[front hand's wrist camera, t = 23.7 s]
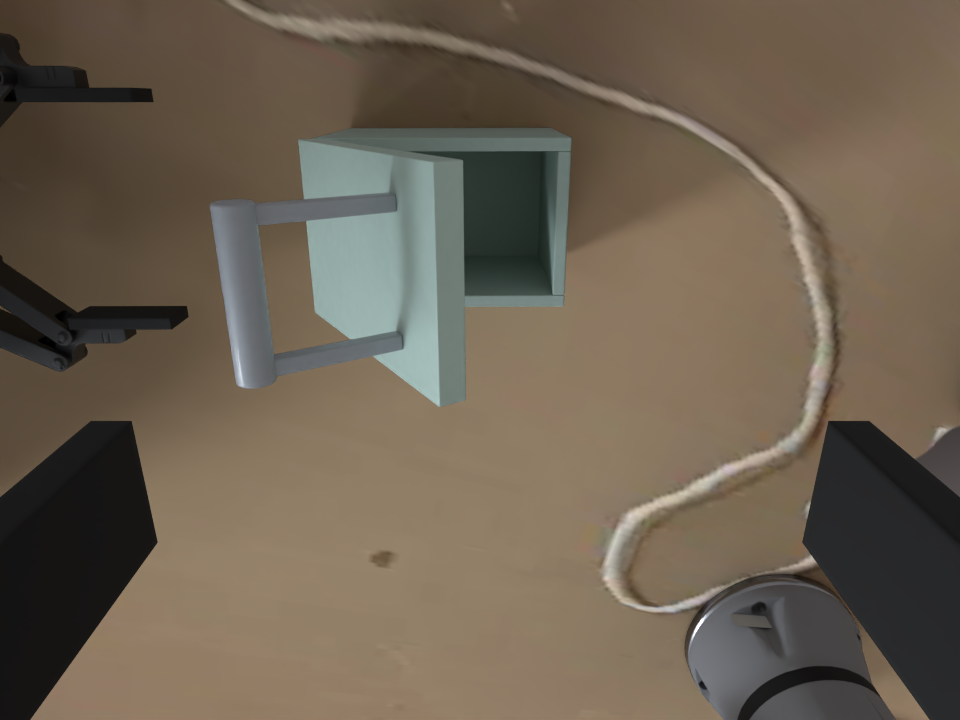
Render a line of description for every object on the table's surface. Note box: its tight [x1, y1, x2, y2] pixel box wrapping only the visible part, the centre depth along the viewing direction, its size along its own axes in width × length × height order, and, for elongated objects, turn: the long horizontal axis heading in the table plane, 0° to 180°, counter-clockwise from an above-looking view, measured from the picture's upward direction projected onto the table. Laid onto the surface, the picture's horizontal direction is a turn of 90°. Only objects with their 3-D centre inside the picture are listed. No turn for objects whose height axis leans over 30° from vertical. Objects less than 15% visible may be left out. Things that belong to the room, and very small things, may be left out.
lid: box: [210, 139, 466, 407], centre depth 29 cm, size 15×9×8 cm
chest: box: [313, 128, 572, 307], centre depth 42 cm, size 14×9×11 cm
